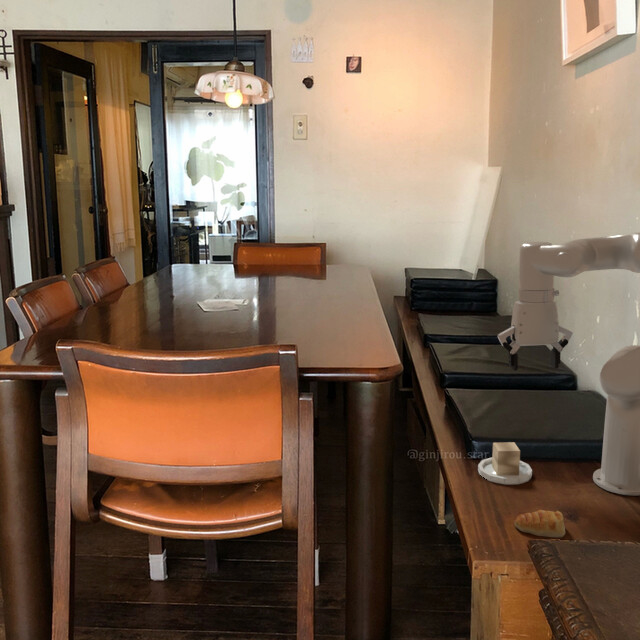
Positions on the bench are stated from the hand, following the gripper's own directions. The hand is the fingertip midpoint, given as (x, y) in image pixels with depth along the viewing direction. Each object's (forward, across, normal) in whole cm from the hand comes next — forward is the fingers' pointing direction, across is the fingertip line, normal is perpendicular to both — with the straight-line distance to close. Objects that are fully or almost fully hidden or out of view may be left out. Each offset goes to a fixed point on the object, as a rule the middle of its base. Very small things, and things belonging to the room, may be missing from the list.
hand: (534, 368), depth 162 cm
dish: (+24, +8, +5) cm, 26 cm away
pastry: (+24, +9, +31) cm, 40 cm away
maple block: (+23, +8, +5) cm, 25 cm away
